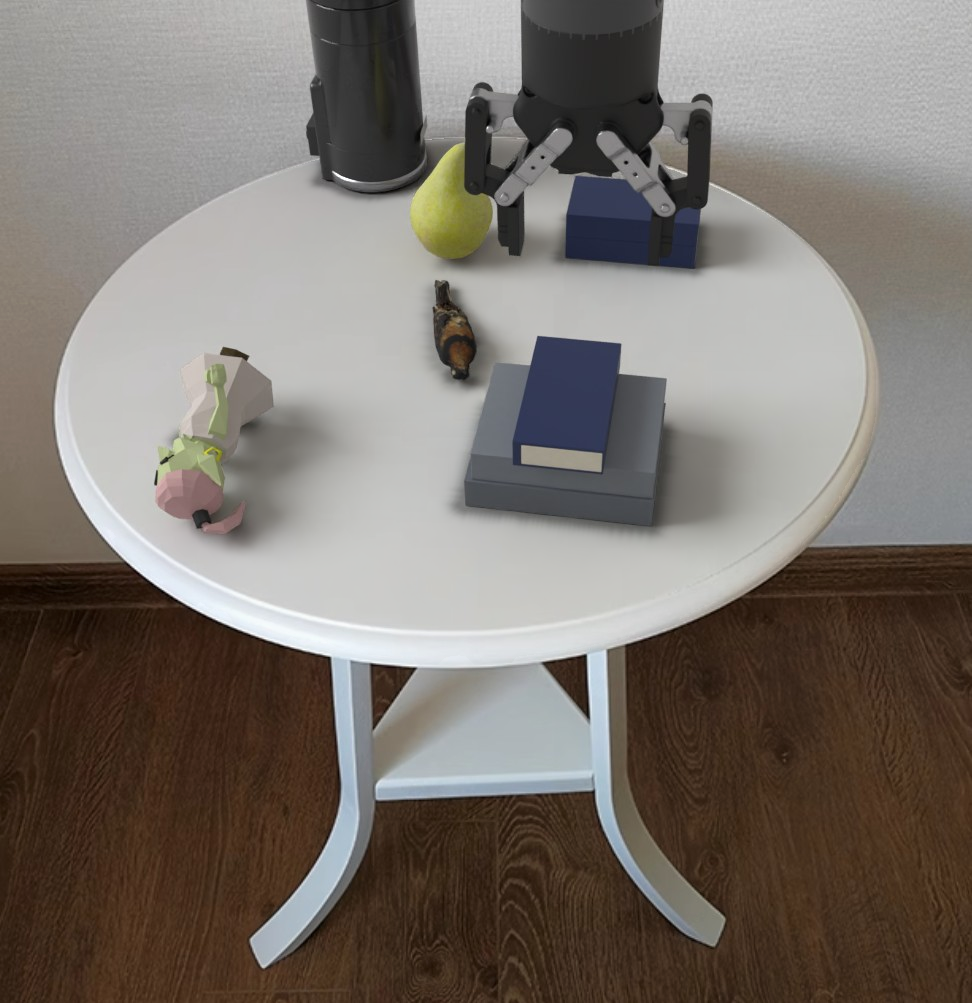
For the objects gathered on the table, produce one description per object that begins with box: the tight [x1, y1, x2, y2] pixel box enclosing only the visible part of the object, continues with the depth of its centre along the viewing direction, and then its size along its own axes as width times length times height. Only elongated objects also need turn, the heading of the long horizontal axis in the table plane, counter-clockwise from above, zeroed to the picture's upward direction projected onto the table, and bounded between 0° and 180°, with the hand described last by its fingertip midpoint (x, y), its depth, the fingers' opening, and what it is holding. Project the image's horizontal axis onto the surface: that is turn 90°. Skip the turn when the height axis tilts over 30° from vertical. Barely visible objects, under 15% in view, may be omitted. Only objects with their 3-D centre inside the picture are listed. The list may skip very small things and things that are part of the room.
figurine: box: [153, 346, 275, 535], centre depth 88 cm, size 9×7×15 cm
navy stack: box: [564, 175, 702, 269], centre depth 107 cm, size 6×11×4 cm, turn 80°
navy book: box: [512, 335, 623, 475], centre depth 85 cm, size 6×11×2 cm, turn 170°
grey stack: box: [463, 361, 668, 527], centre depth 88 cm, size 13×10×5 cm
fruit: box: [409, 141, 494, 260], centre depth 104 cm, size 7×8×12 cm
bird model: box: [431, 279, 478, 381], centre depth 99 cm, size 3×14×3 cm, turn 6°
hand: (584, 253), depth 77 cm, fingers open, 8 cm apart
